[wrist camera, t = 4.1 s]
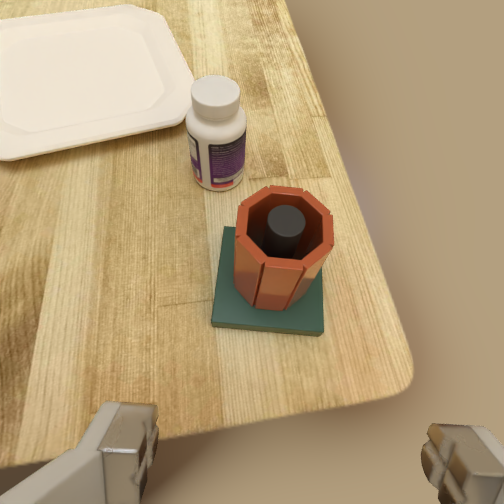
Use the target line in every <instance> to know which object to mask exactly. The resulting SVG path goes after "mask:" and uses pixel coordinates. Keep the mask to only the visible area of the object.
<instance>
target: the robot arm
mask: <svg viewBox="0 0 504 504" xmlns="http://www.w3.org/2000/svg"><path fill="white" fill-rule="evenodd" d="M158 416H159V415H158V406H157V405H152V404H141V403H131V402H115V401H105V402H104V403H103V404H102V405H101V406H100V408H99V410H98V411H97V413H96V415H95V416H94V418H93V420H92V421H91V423H90V425H89V426H88V428H87V430H86V431H85V433H84V435H83V436H82V438H81V440H80V441H79V443H78V445H77V446H76V448H75V449H68V450H67V451H65V452H64V453H62V454H61V455H60V456H58V457H57V458H55V459H54V460H52V461H51V462H49V463H48V464H46V465H45V466H44V467H42V468H41V469H39V470H38V471H36V472H35V473H33V474H32V475H30V476H29V477H27V478H26V479H25V480H23V481H22V482H20V483H19V484H17V485H16V486H14V487H13V488H11V489H10V490H8V491H7V492H6V493H4V494H3V495H1V496H0V504H140V501H141V498H142V495H143V492H144V489H145V486H146V483H147V469H148V468H149V467H150V466H151V465H152V464H153V460H154V457H155V454H156V449H157V444H158V435H159V428H158V426H157V425H156V421H157V419H158ZM427 435H428V437H429V438H430V440H429V441H428V442H426V443H425V444H424V445H423V448H422V451H421V462H422V467H423V470H424V473H425V475H426V477H427V479H428V481H429V482H430V483H431V484H432V485H433V486H434V487H436V488H437V489H438V490H439V493H438V499H439V501H440V503H441V504H504V446H503V445H502V444H501V443H500V442H499V441H498V440H497V438H496V437H495V436H494V435H493V434H492V433H491V431H490V430H488V429H487V428H486V427H484V426H472V425H466V426H464V425H453V424H435V423H433V424H432V425H430V426H429V428H428V431H427Z"/></svg>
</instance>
